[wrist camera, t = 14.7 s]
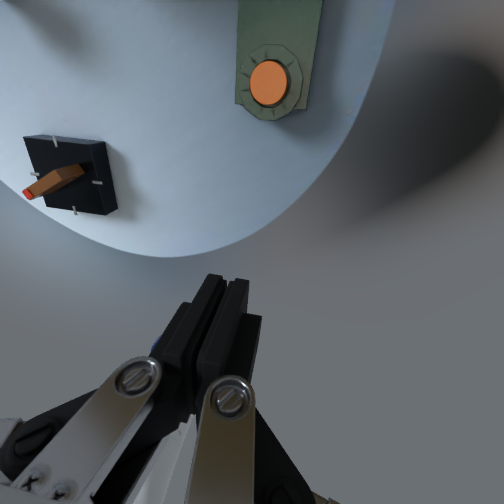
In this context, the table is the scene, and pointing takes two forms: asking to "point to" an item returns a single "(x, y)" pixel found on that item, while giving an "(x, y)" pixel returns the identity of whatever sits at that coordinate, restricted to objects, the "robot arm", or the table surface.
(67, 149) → the clamp block
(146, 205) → the table surface
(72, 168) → the wooden rectangular beam
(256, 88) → the button
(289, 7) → the button box
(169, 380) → the robot arm
